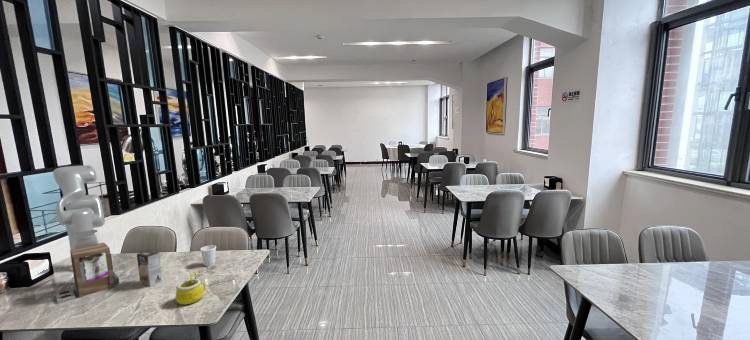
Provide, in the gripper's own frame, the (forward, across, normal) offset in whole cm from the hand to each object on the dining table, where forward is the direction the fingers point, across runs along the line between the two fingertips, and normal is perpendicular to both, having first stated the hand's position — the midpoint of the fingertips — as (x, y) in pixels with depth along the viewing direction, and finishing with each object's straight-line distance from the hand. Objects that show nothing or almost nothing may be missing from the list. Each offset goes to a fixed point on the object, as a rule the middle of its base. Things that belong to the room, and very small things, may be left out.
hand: (89, 268), depth 170 cm
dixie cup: (+8, -49, +28) cm, 57 cm away
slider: (+7, -1, +7) cm, 10 cm away
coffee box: (+8, -20, +28) cm, 36 cm away
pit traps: (+8, +11, +12) cm, 18 cm away
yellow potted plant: (+9, -27, +64) cm, 70 cm away
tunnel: (+8, 0, +12) cm, 14 cm away
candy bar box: (+8, 0, +12) cm, 14 cm away
